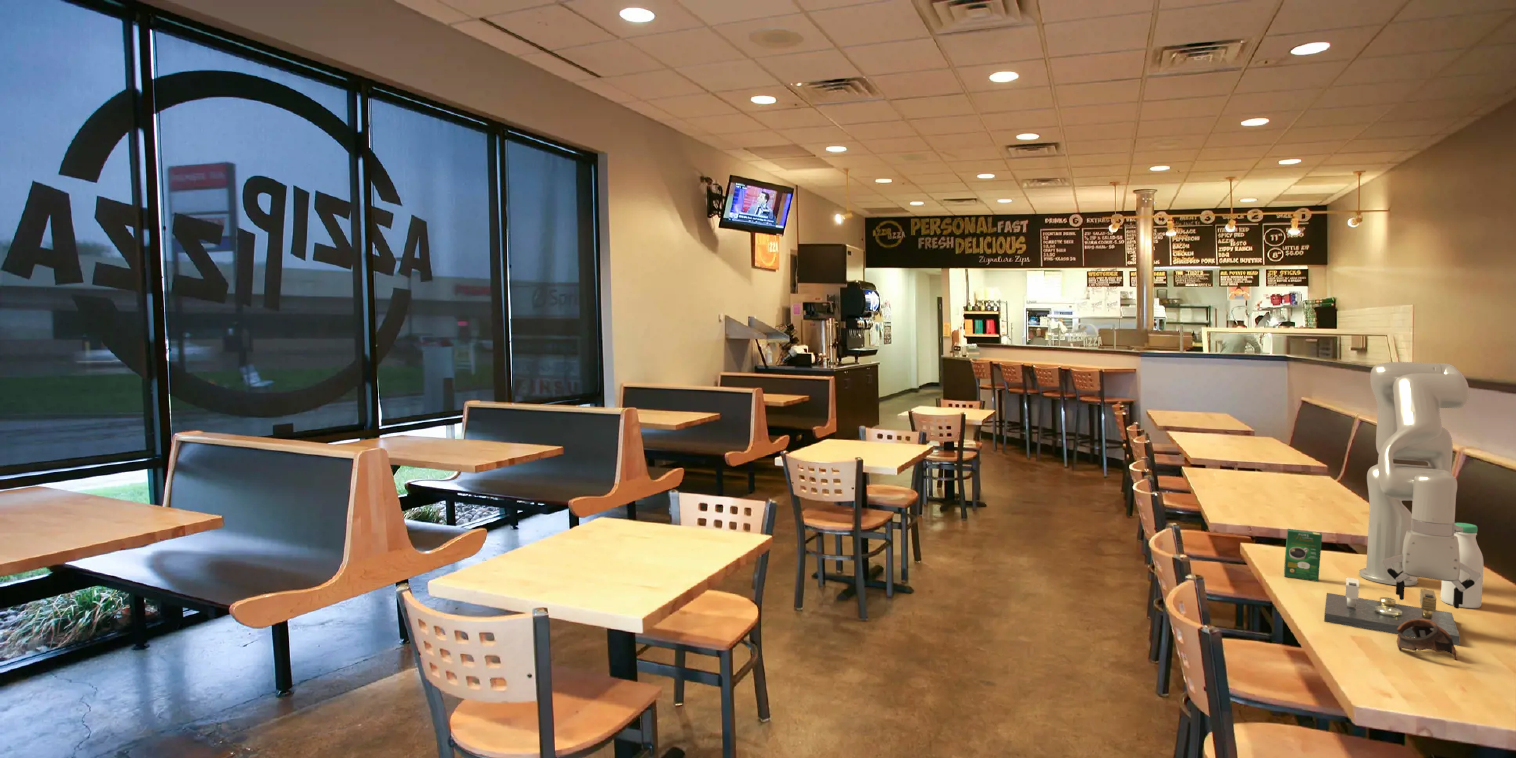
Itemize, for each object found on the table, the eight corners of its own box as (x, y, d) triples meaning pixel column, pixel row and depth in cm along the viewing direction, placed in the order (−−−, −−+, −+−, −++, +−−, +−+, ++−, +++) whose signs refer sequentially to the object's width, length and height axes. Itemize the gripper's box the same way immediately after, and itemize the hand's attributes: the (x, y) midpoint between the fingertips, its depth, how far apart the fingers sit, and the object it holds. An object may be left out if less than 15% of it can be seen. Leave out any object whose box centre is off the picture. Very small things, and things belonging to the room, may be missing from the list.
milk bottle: (1488, 610, 199) (1494, 529, 197) (1452, 607, 200) (1457, 527, 199) (1468, 599, 206) (1473, 521, 205) (1433, 597, 208) (1437, 519, 206)
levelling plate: (1326, 600, 205) (1327, 586, 205) (1451, 621, 191) (1452, 605, 191) (1324, 621, 191) (1325, 606, 191) (1459, 645, 177) (1460, 629, 177)
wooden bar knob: (1419, 612, 190) (1420, 587, 190) (1432, 614, 189) (1434, 589, 189) (1421, 621, 185) (1422, 595, 184) (1434, 623, 183) (1436, 597, 183)
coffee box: (1319, 579, 223) (1321, 531, 222) (1319, 582, 220) (1322, 534, 219) (1283, 574, 227) (1286, 527, 226) (1284, 577, 224) (1286, 530, 223)
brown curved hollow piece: (1468, 669, 166) (1450, 635, 165) (1414, 679, 171) (1396, 646, 170) (1448, 634, 176) (1431, 602, 176) (1397, 645, 181) (1381, 614, 180)
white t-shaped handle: (1345, 600, 199) (1346, 576, 198) (1357, 602, 197) (1358, 578, 197) (1344, 608, 193) (1346, 583, 192) (1357, 610, 191) (1358, 585, 191)
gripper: (1480, 530, 183) (1476, 605, 184) (1383, 520, 193) (1380, 591, 194) (1485, 537, 177) (1480, 615, 178) (1384, 525, 187) (1380, 599, 188)
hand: (1428, 602), depth 186 cm, fingers open, 9 cm apart
